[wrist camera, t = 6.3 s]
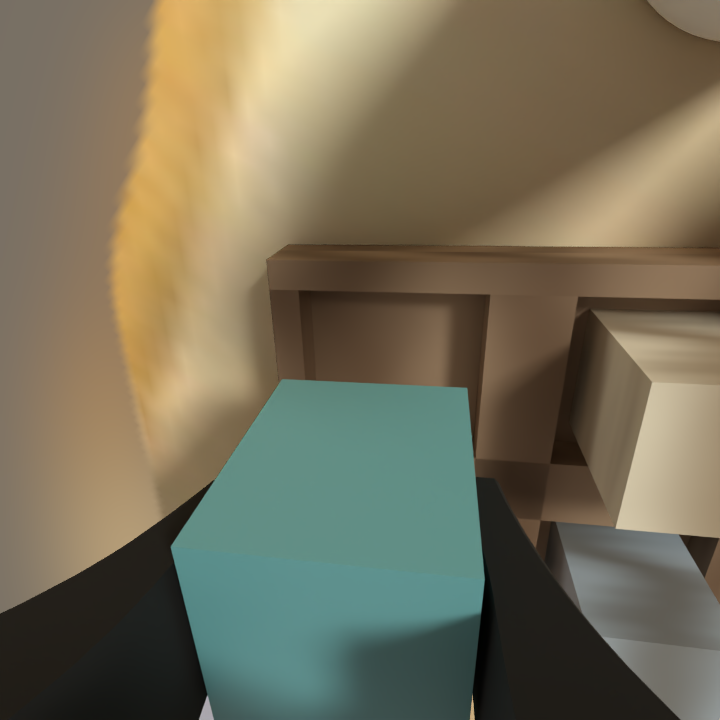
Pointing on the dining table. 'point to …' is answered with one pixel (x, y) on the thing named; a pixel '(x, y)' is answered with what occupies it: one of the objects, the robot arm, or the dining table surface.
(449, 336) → the puzzle board
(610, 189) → the dining table surface
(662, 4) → the milk bottle
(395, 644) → the teal block
